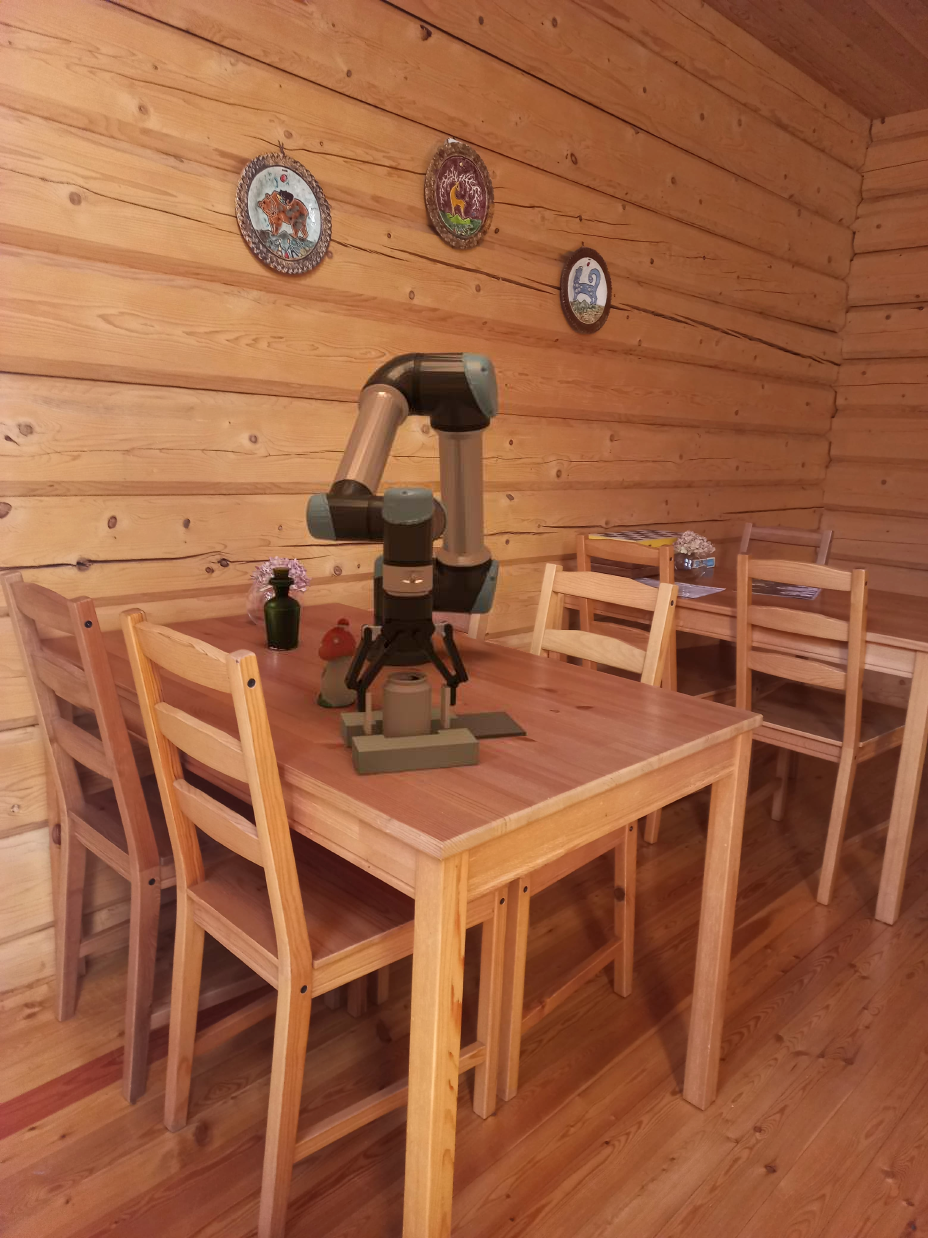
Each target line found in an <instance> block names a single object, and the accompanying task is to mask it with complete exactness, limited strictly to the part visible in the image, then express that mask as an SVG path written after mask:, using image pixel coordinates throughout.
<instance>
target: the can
mask: <svg viewBox="0 0 928 1238" xmlns="http://www.w3.org/2000/svg"><path fill="white" fill-rule="evenodd" d="M427 678H428V676H427V673H424V672H421V671H415V670H397V671H392V672H389V673H388V674H387V675H386V679H387V680H385V682H384V683H383V684H382V710H383V736H384V737H385V738H396V737H409V736H422V735H431V707H432V685H431V682H429V681H428V680H427Z"/></svg>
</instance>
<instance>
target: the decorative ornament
mask: <svg viewBox="0 0 928 1238" xmlns="http://www.w3.org/2000/svg"><path fill="white" fill-rule="evenodd" d="M336 624H337V626H335V627H333V628H331V629H329V630H328V631H327V632H326V633H325V634H324V636H323V638H321V641H320V643H319V646H318V656H319V658H320V659H322V660H323V661H326V665H325V667H324V669H323V670H322V673H321V677H320V678H321V679H320V690H318V692H317V693H316V694H317V695H316V701H317V703H318V705H319V706H321V707H324V708H329V709H331V708H332V709H333V708H338V707H339V708H340V707H347V706H349V705H351V704H352V703H353V704H354V702H355V701H356V691H355V690H352V689H351V690H350V689H348V688H347V687H346V685H345V683H344V680H345V678H346V675H347V673H348V670H349V668H350V665H351V663H352V661H351V658H352V657H354V655H355V653H356V650H357V648H358V644H357V641H356V638H355V637H354V635H353V634H352V632H351V631H350V630H349V629H348V627H350V621H349V620H348V619H346V618H340V619H338V620H337V622H336Z"/></svg>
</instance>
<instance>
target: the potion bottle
mask: <svg viewBox="0 0 928 1238" xmlns="http://www.w3.org/2000/svg"><path fill="white" fill-rule="evenodd" d="M290 571H291V568H290V567H288V566H275V567H272V572H273V573H272V574H273V577H270V578H268V579H269V580H268V581H267V582H268V583H267V584H268V585H269V586H272V588H273V592H274V596H273V597H271V598H269V599H268V600H266V601H265V603H264V604H263V615H264V622H265V631H266V639H267V640H266V641H267V647H268V646H269V647H273V648H277V649H291V648H295V647H296V648H297V647H298V646H299V632H300V621H301V620H300V619H301V604H300V602H299V601H298V600H297V599H295V598H294V597H293V596H290V595H289V594H290V589H291V586H293V585H295V584H296V581H295V580H294V578H293V577H292V576H290ZM269 647H268V648H269ZM296 648H295V649H296Z"/></svg>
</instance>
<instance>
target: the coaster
mask: <svg viewBox="0 0 928 1238" xmlns="http://www.w3.org/2000/svg"><path fill="white" fill-rule="evenodd" d="M455 715H456V717H457V718H458V729H461V728H467V729H468V730H469V731H470V733H471V734H472V735H473V736H474V737H475V738H476V739H477V740H481V739H482V740H483V739H495V738H497V739H498V738H507V737H520V736H527V731H526V730H525V729H524V728H523V727H522V726H521V725H520V724H519V723H518V722H517V721H516V720H515V719H513V718H512V717H511V716H510V714H508V713H507V712H506V710H505V711H503V710H502V711H491V712H477V713H463V714H461V713H460V714H455Z"/></svg>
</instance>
